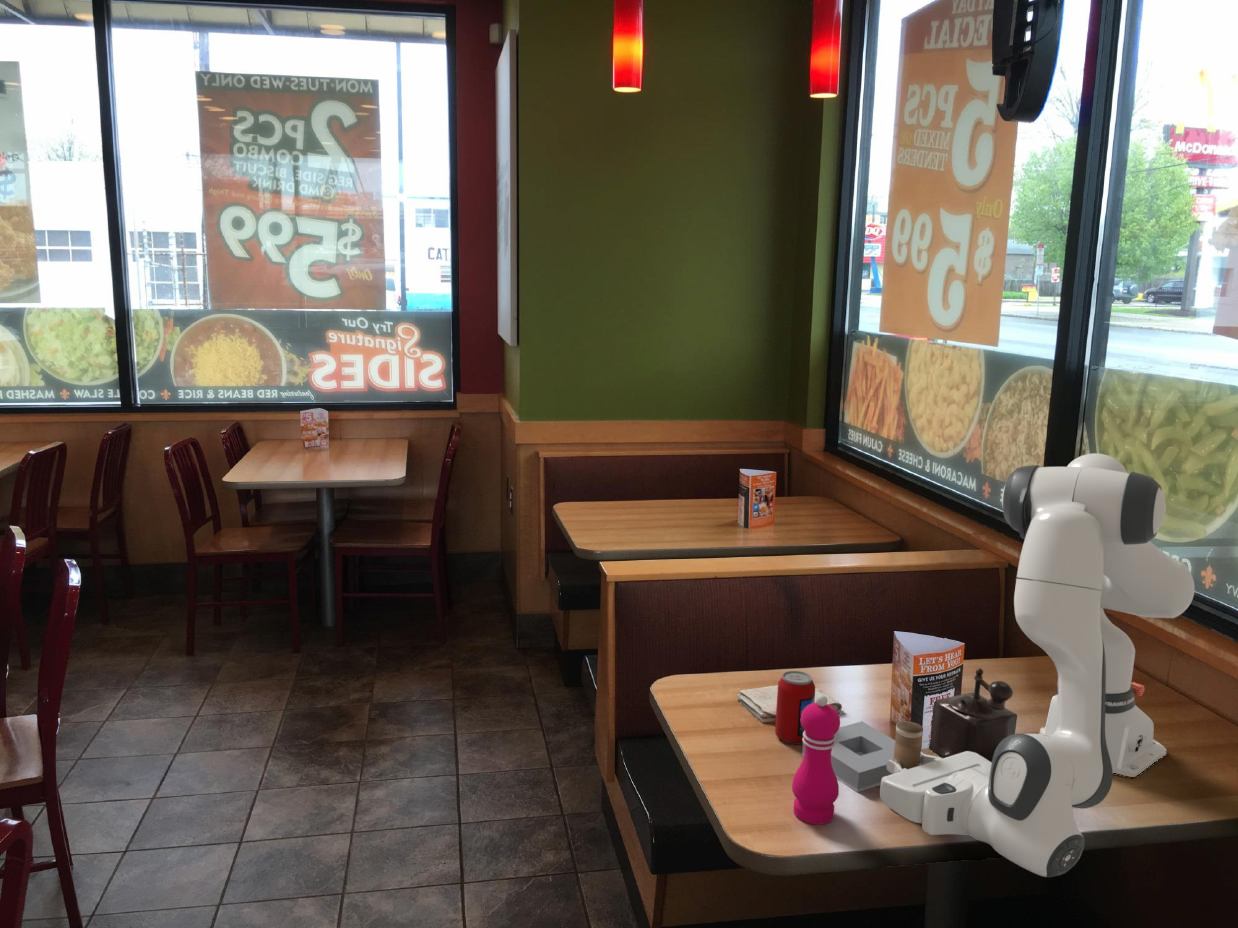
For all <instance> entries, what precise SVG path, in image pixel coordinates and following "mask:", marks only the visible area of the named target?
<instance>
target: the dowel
mask: <svg viewBox="0 0 1238 928" xmlns="http://www.w3.org/2000/svg"><path fill="white" fill-rule="evenodd" d="M923 735H924V727H922V726H921V725H920V724H918V723H915V722H913V721H898V722H897V723H896V724H895V738H894V740H895V748H894V759H897V760H899V761H901V762H902V767H901V768H902V769H904V768H906V769H911V768H914V767H917V766H919V765H920V755H921V752H922V745H923V743H922V741H923ZM889 810H891V811H892V812H893V813H894V814H897V815H899V814H898V813H896V812H895V811H893V810H892V809H891V808H889Z"/></svg>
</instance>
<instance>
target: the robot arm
mask: <svg viewBox="0 0 1238 928" xmlns="http://www.w3.org/2000/svg"><path fill="white" fill-rule="evenodd" d="M1166 504H1167V503H1166V499H1165V495H1164V492H1163V491H1162V486H1161V485H1160V484H1159V482H1158V481H1157V480H1156V479H1154V478H1153V477H1151V476H1149V475H1146V474H1144V473H1139V472H1137V471H1136V472H1135V471H1130V472H1129V473H1128V472H1127V470H1126V468H1125V466H1124V465H1123V464H1122V463H1121V462H1120V461H1119V460H1118V459H1117V458H1114V457H1113V456H1111V455H1107V454H1105V453H1104V454H1103V453H1099V452H1098V453H1096V452H1093V453H1087V454H1083V455H1080V456H1078V457H1076V458H1075V459H1073V460H1072V461H1070V463H1068V465H1067V466H1040V465H1038V464H1036V465H1033V464H1032V465H1024V466H1020V467H1016V469H1014V470H1013V471H1012V472H1011V473H1010V474H1009V475H1008V477H1007V479H1006V482H1005V484H1004V487H1003V490H1002V494H1001V507H1002V510H1003V511H1002V512H1003V516H1004V517H1003V518H1004V519H1005V521H1006V522H1007V524H1009V527H1011V528H1012V530H1014V531H1016V532H1018V533H1019V537H1020V538H1021V539H1023V540H1024V541H1023V544H1022V548H1021V552H1020V556H1019V561H1018V567H1017V573H1016V578H1015V589H1014V596H1013V606H1014V615H1015V620H1016V623H1017V624H1018V626H1019V628H1020V630H1021V631H1022V632H1023V633H1024V635H1026V637H1027V638H1028V639H1029V640H1031V642H1033V643H1034V644H1036V645H1037V646H1038V647H1040V648H1041V649H1042V650H1043V651H1044V652H1045V653H1046V654H1047V655H1048V656H1049V658H1050V659H1051V660H1052V661H1053V664H1054V666H1055V669H1056V671H1057V677H1058V678H1057V683H1056V686H1057V688H1056V693H1057V694H1055V695H1054V696H1052V698H1051V701H1050V705H1049V709H1048V714H1047V718H1046V723H1045V727H1040V728H1039V733H1015V734H1013V735H1010V736H1008V737H1006V738H1005V739H1003V740H1002V741H1001V742H1000V743H999V745H998V746H997V748H996V750H995V752H994V755H993V759H992V763H991V762H990V761H988V760H987V759H985V758H984V757H982V756H980V755H979V754H977V753H974V752H970V751H965V752H962V753H959V754H956V755H952V756H949V757H946V758H943V757H941V756H936V755H931V754H926V753H924V752H922V751H921V755H920V765H919V766H917V767H914V768H911V769H906V768H904V769H902V768H901V767H902V762H901V761H899V760H897V759H891V760H888V761H887V770H888V771H889V772H891V773H892V774H891V775H888V776H885V777H883V778H882V779H881V785H879V786H880V787H879V797H880V801H881V802H882V804H884V805H885V806H887V808H889V809H890V808H891V809H892V810H893V811H895V812H896V813H895V812H894V813H895V814H897V813H898V814H897V815H899V816H901V817H903V818H904V819H906V820H908V821H909V822H912V823H916V824H921V828H922V831H923V832H925V833H926V834H928V835H931V836H939V835H957V836H958V835H960V836H968V835H969V836H970V837H972V838H974V839H975V840H977V841H979V842H983V843H986V844H988V845H990V846H991V847H992V848H993V850H995V852H996V853H998V855H1000V856H1001V857H1003V858H1005V859H1007V860H1009V861H1010V862H1011V863H1014V864H1015V865H1017V866H1018V867H1020V868H1023V869H1025V870H1027V871H1029V872H1031V873H1033V874H1035V875H1038V876H1041V877H1044V878H1053V877H1059V876H1061V875H1064V874H1066V873H1067V872H1069V870H1071V869H1072V868H1073V867H1075V865H1076V864H1077V863H1078V862H1079V860H1080V858H1081V856H1082V854H1083V852H1084V849H1085V838H1084V836H1083V834H1082V832H1081V830H1080V829H1079V827H1078V824H1077V821H1076V818H1075V815H1074V810H1073V808H1076V809H1089V808H1092V807H1095V806H1097V805H1099V804H1100V803H1102V802H1103V800H1104V799H1105V798H1106V797H1107V796H1108V794H1109V792H1110V790H1111V788H1112V784H1113V778H1114V777H1113V775H1114V774H1113V773H1117V774H1122V775H1128V776H1136V775H1138V774H1140V773H1141V772H1142V771H1144V770H1145V769H1146V768H1148V767H1149V766H1150V765H1152V764H1153V763H1154V762H1156V761H1157V762H1158V759H1160V758H1161V759H1163V758H1164V757H1165V756H1166V755H1167V748H1165V746H1164V745H1162V744H1161V743H1159V741H1157V740H1156V739H1154V733H1155V732H1154V731H1155V730H1154V727H1155V725H1154V722H1153V720H1152V719H1151V718H1150V717H1149V716H1148V715H1147V714H1146V713H1145V712H1144V711H1142V710H1141V709H1140V708H1139V707H1138V706H1137V705H1136V702H1135V695H1136V696H1139V697H1141V696H1143V694H1144V693H1145V686H1144V685H1143V684H1140V683H1136V682H1135V681H1133V682H1132V679H1133V671H1134V665H1135V664H1134V663H1135V656H1136V648H1135V645H1134V643H1133V641H1132V640H1131V638H1130V637H1129V636H1128V634H1127V633H1126V632H1124V631H1123V630H1121V629H1120V628H1119V627H1118V626H1116V625H1115V624H1113V623H1112V622H1111V621H1110V619H1109V618H1108V617H1107V615H1106V614H1105V611H1104V609H1105V610H1106V609H1108V610H1110V611H1116V612H1122V613H1125V614H1128V615H1129V614H1130V615H1134V616H1138V617H1142V618H1143V617H1144V618H1156V619H1157V618H1159V619H1160V618H1161V619H1163V618H1164V619H1176V618H1177V617H1179V616H1180V615H1182V614H1183V613H1184V612H1185V611H1186V610H1187V609H1188V608H1189V606H1190V605H1191V604H1192V601H1193V599H1194V596H1195V588H1196V586H1195V581H1194V577H1193V575H1192V573H1191V571H1190V569H1189V568H1188V567H1187V565H1186V564H1185V563H1183V562H1181V561H1179V560H1177V559H1175V558H1173V557H1172V556H1170V555H1168V554H1166V553H1165V552H1164V551H1162V550H1161V549H1160V548H1159V547H1157V546H1156V545H1155V544H1154V543H1153V542H1152V540H1153V539H1155V537H1157V534H1158V531H1159V530H1160V528H1161V527H1162V525H1163V523H1164V520H1165V517H1166V511H1167V505H1166ZM1134 694H1135V695H1134ZM1163 756H1164V757H1163ZM1161 759H1160V760H1161ZM1157 762H1156V763H1157ZM1153 765H1154V764H1153ZM1153 765H1152V766H1153ZM1149 768H1150V767H1149ZM1149 768H1148V769H1149ZM1145 771H1146V770H1145ZM1145 771H1144V772H1145ZM1117 774H1116V775H1117ZM1141 774H1142V773H1141ZM1141 774H1140V775H1141ZM891 809H890V810H891ZM892 810H891V811H892ZM893 811H892V812H893Z"/></svg>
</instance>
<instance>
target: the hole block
mask: <svg viewBox="0 0 1238 928" xmlns="http://www.w3.org/2000/svg"><path fill="white" fill-rule="evenodd" d="M834 735H835V737H836V739H835V746H834V747H833V748H832V751H831V764H832V768H833V770H834V773H835V775H836V778H837V781H839V782H841V783H843V784H844V785H846V786H847V787H849V788H850V789H852V790H853V791H855V792H856V793H860V792H864V791H866V790H870V789H872V788H877V787H879V786H881V779H882V778H883V777H885V776H888V775H891V774H892V773H891V772H889V771H888V770H887V761H888V760H891V759H894V748H895V738H892V737H890V736H888V735H886V734H885V733H883V732H881V731H879V730H878V729H876V728H875V727H873V726H871V725H869V724H868V723H866V722H864V721H859V722H855V723H851V724H846V725H843V726H840V727H839V730H838V731H837V732H836V733H835V734H834ZM801 749H802V750H801V756H802V757H804V753H805V744H804V743H802V748H801Z"/></svg>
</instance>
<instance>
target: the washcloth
mask: <svg viewBox="0 0 1238 928" xmlns="http://www.w3.org/2000/svg"><path fill="white" fill-rule="evenodd" d="M777 692H778V684H777V685H770V686H763V687H756V688H747V689H741V690H739V691H738V692H737V701H738V702H740V705H741V707H743V709H745V710H747V711H748V713H750V714H751V715H752V716H754V717H755V718H756V719H757V720H758V721H759V722H762V723H765V724H767V723H771V724H772V723H776V707H777ZM819 695H824V696H825V697H826V698H827V700H828V702H827V704H829V705H831V706H832V707H833V708H834V709H835V710H836V711H837V712H838V713H839V712H841V710H842V709H843V706H842V704H841V703H840V702H839V701H838V700H836V699H835V698H833V697H831V696H829V695H827V694H825V693H823V691H822V690H821V689H819V688H818V687H816V686H815V702H814V703H816V698H817V697H818V696H819Z"/></svg>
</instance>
